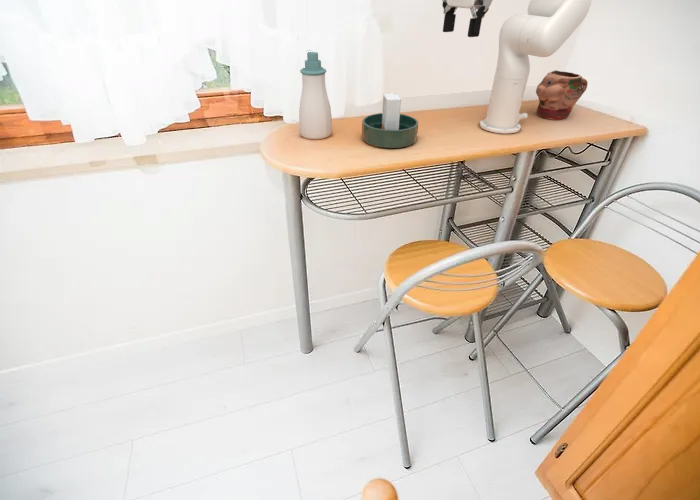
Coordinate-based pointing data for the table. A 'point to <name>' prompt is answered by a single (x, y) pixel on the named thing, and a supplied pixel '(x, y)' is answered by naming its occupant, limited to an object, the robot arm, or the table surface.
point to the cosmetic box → (391, 112)
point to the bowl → (389, 132)
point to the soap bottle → (314, 101)
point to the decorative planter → (559, 94)
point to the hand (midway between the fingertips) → (460, 34)
